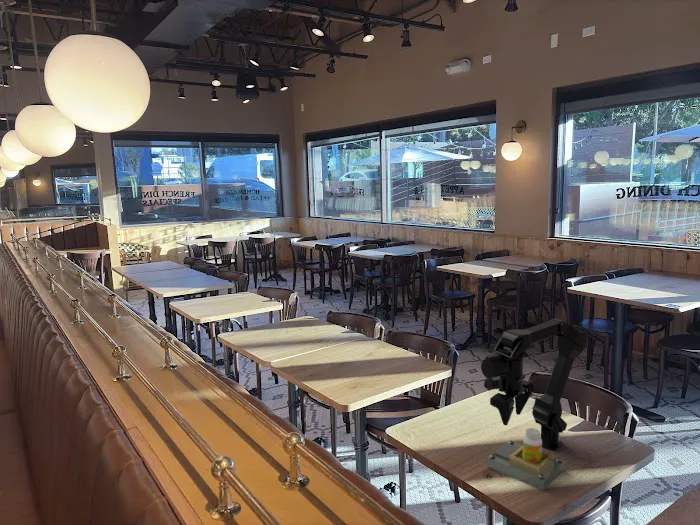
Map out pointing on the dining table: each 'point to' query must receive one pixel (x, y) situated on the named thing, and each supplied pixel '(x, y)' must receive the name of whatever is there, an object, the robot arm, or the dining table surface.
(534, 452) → the supplement bottle
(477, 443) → the dining table surface
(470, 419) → the dining table surface
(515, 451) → the grey fixture plate
